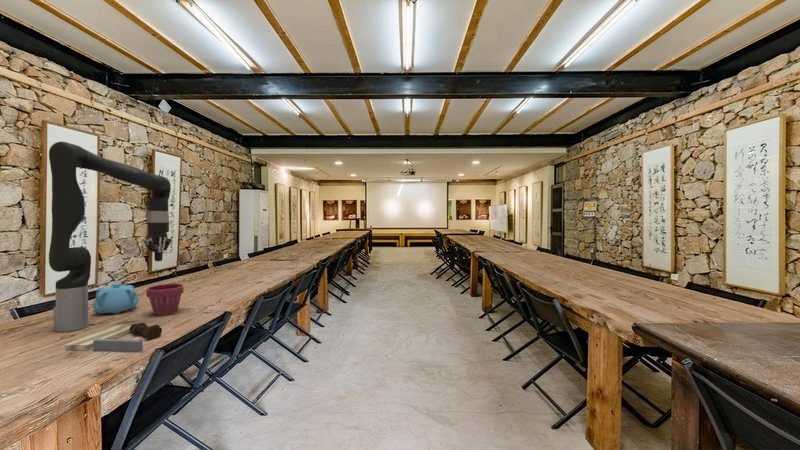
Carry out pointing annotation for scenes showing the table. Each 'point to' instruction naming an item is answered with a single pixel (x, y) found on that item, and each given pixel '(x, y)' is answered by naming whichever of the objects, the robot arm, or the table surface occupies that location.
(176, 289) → the plant pot
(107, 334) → the birch board
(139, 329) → the brown dumbbell
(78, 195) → the robot arm
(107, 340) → the bar
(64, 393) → the table surface
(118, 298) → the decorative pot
